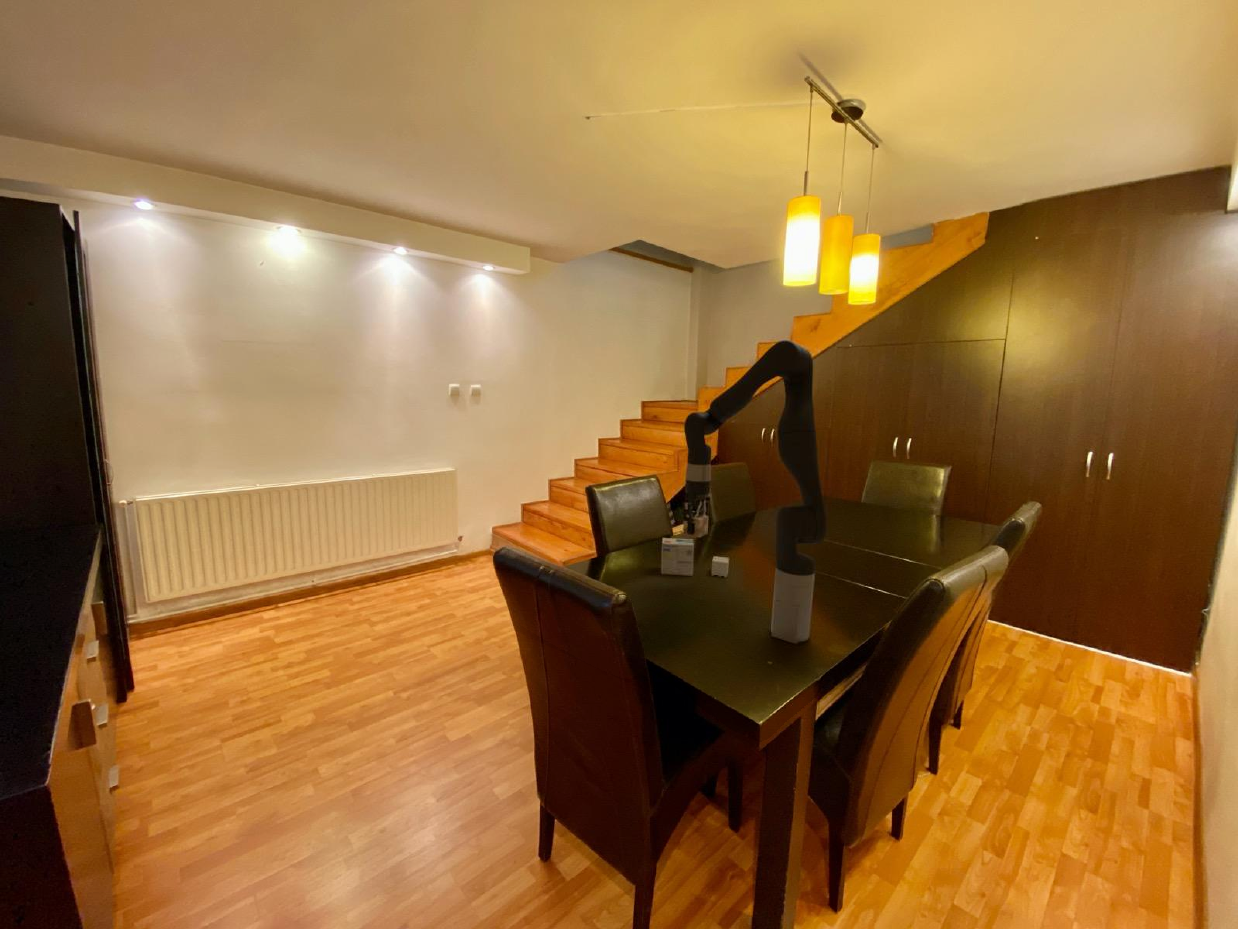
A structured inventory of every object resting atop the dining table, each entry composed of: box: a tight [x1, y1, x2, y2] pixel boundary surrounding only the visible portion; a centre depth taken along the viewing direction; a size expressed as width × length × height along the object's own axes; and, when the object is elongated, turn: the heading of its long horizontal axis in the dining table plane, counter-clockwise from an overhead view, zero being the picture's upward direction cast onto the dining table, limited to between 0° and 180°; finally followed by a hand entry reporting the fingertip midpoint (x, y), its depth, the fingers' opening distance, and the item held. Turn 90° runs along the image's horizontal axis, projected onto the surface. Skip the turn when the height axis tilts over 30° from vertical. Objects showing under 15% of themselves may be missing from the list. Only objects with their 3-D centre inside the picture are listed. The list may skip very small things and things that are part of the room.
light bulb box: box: [660, 537, 695, 577], centre depth 166 cm, size 11×7×11 cm, turn 84°
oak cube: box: [682, 515, 709, 538], centre depth 153 cm, size 6×6×6 cm
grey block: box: [711, 555, 730, 578], centre depth 166 cm, size 5×5×5 cm
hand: (695, 531), depth 153 cm, fingers closed on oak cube, 5 cm apart
